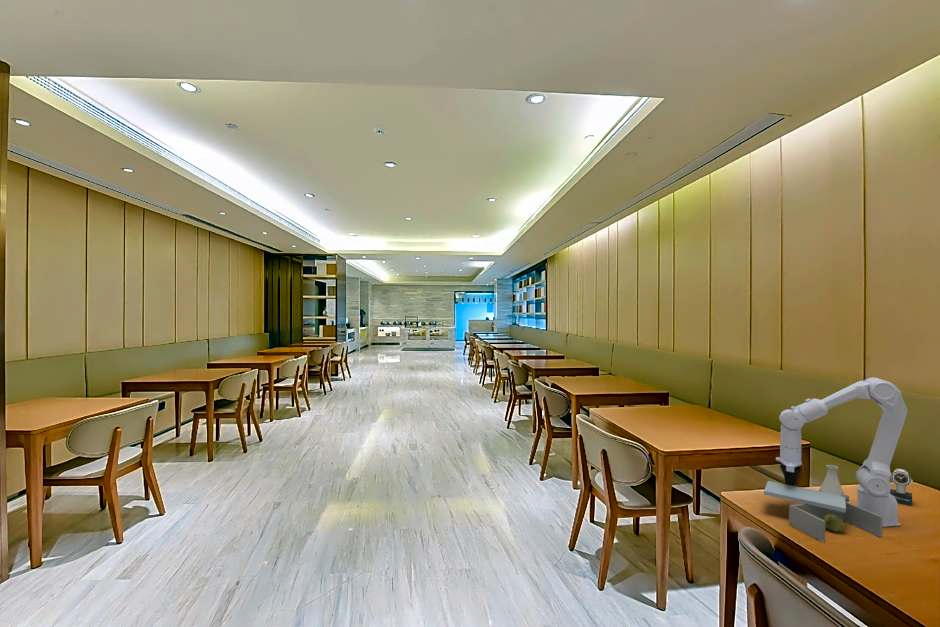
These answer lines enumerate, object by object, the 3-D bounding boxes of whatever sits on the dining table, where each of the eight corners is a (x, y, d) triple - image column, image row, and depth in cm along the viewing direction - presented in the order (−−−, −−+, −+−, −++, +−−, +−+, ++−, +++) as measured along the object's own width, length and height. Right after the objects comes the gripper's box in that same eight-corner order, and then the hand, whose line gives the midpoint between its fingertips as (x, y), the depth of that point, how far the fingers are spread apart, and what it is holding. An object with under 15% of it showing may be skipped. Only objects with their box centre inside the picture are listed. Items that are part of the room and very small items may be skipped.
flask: (849, 499, 155) (850, 470, 156) (826, 497, 157) (826, 468, 157) (837, 491, 163) (837, 463, 163) (814, 489, 164) (815, 462, 164)
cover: (849, 500, 139) (849, 495, 139) (850, 513, 129) (850, 508, 129) (768, 483, 152) (768, 479, 152) (763, 494, 143) (764, 490, 143)
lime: (821, 526, 135) (821, 509, 135) (841, 529, 133) (841, 512, 133) (826, 533, 131) (826, 515, 131) (847, 536, 129) (847, 518, 129)
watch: (889, 502, 153) (889, 470, 153) (890, 496, 159) (890, 465, 159) (912, 507, 149) (912, 474, 149) (912, 500, 155) (912, 469, 155)
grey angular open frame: (844, 520, 139) (844, 501, 139) (882, 537, 128) (882, 516, 128) (789, 524, 136) (789, 504, 136) (822, 542, 125) (823, 521, 125)
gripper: (776, 439, 157) (776, 478, 157) (775, 449, 145) (774, 491, 145) (801, 443, 153) (801, 483, 153) (802, 453, 141) (801, 497, 141)
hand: (790, 487), depth 149 cm, fingers closed
